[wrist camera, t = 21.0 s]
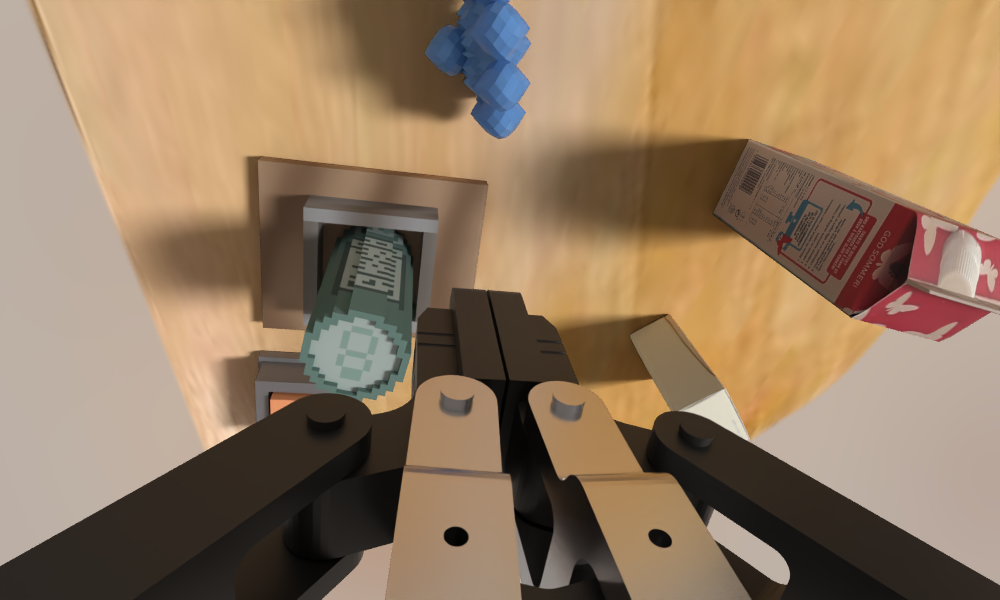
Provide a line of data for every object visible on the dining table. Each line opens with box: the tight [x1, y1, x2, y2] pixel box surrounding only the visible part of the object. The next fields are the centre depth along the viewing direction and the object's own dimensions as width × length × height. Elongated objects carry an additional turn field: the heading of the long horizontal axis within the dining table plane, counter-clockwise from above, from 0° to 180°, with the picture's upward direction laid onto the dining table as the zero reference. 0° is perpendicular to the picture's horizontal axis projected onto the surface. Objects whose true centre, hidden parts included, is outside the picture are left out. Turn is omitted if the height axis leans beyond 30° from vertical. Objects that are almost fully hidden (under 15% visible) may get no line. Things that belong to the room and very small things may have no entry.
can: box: [299, 226, 413, 402], centre depth 42 cm, size 6×6×15 cm
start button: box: [270, 392, 314, 414], centre depth 52 cm, size 5×5×3 cm
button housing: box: [255, 351, 329, 422], centre depth 53 cm, size 8×8×4 cm
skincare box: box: [630, 315, 750, 441], centre depth 52 cm, size 6×4×12 cm
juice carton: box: [713, 139, 1000, 342], centre depth 41 cm, size 7×7×22 cm
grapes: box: [424, 0, 531, 139], centre depth 38 cm, size 12×7×12 cm, turn 4°
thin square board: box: [258, 156, 488, 338], centre depth 47 cm, size 17×14×4 cm
